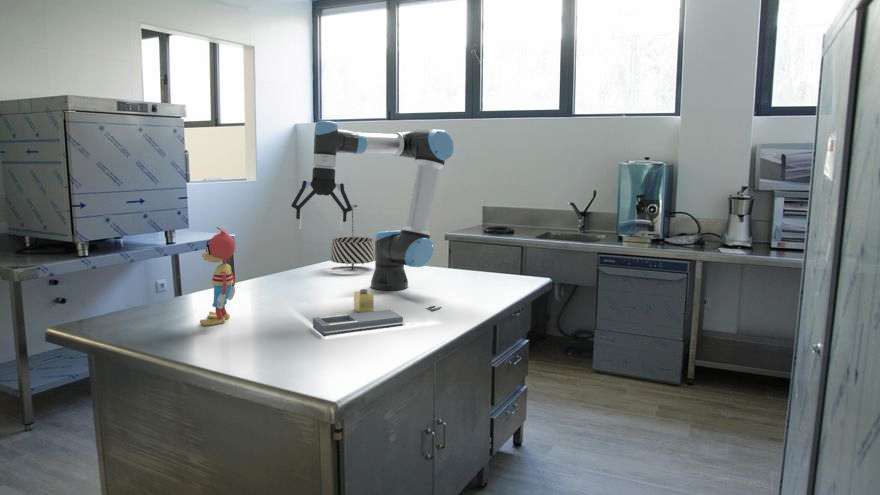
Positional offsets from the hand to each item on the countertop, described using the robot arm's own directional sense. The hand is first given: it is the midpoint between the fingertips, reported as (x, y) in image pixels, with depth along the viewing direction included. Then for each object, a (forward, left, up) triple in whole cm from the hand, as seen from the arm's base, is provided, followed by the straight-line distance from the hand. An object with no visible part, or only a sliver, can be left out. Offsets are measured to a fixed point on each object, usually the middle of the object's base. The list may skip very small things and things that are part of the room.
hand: (320, 230), depth 208 cm
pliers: (-28, +18, -28) cm, 44 cm away
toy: (+34, +1, -28) cm, 44 cm away
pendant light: (-36, -66, -28) cm, 80 cm away
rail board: (-3, +26, -28) cm, 38 cm away
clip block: (-10, +13, -26) cm, 31 cm away
